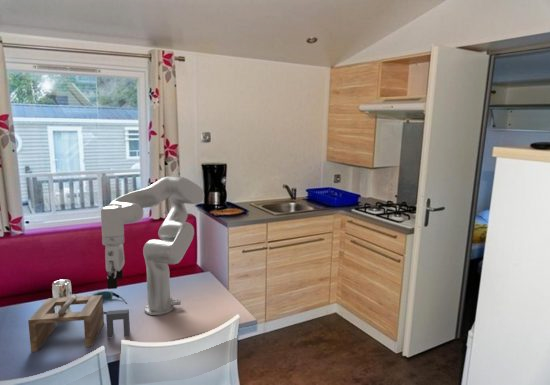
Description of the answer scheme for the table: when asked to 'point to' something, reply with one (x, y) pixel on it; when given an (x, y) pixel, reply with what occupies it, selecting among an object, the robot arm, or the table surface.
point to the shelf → (66, 318)
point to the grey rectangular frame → (117, 316)
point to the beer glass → (62, 291)
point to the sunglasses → (107, 295)
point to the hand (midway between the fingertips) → (115, 283)
